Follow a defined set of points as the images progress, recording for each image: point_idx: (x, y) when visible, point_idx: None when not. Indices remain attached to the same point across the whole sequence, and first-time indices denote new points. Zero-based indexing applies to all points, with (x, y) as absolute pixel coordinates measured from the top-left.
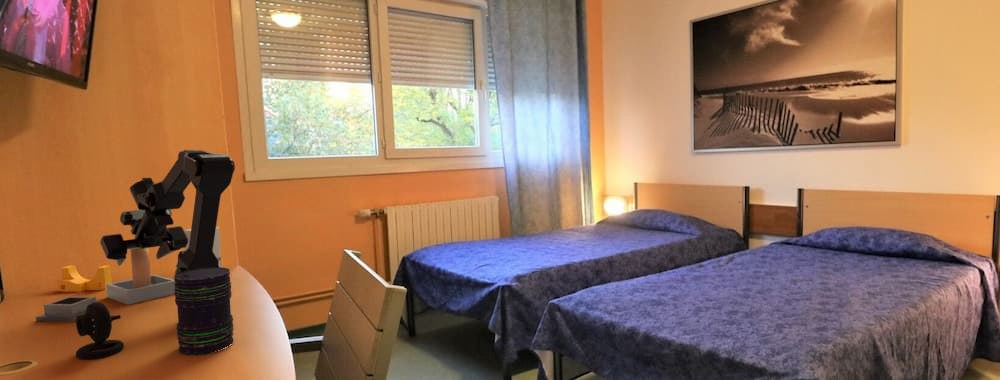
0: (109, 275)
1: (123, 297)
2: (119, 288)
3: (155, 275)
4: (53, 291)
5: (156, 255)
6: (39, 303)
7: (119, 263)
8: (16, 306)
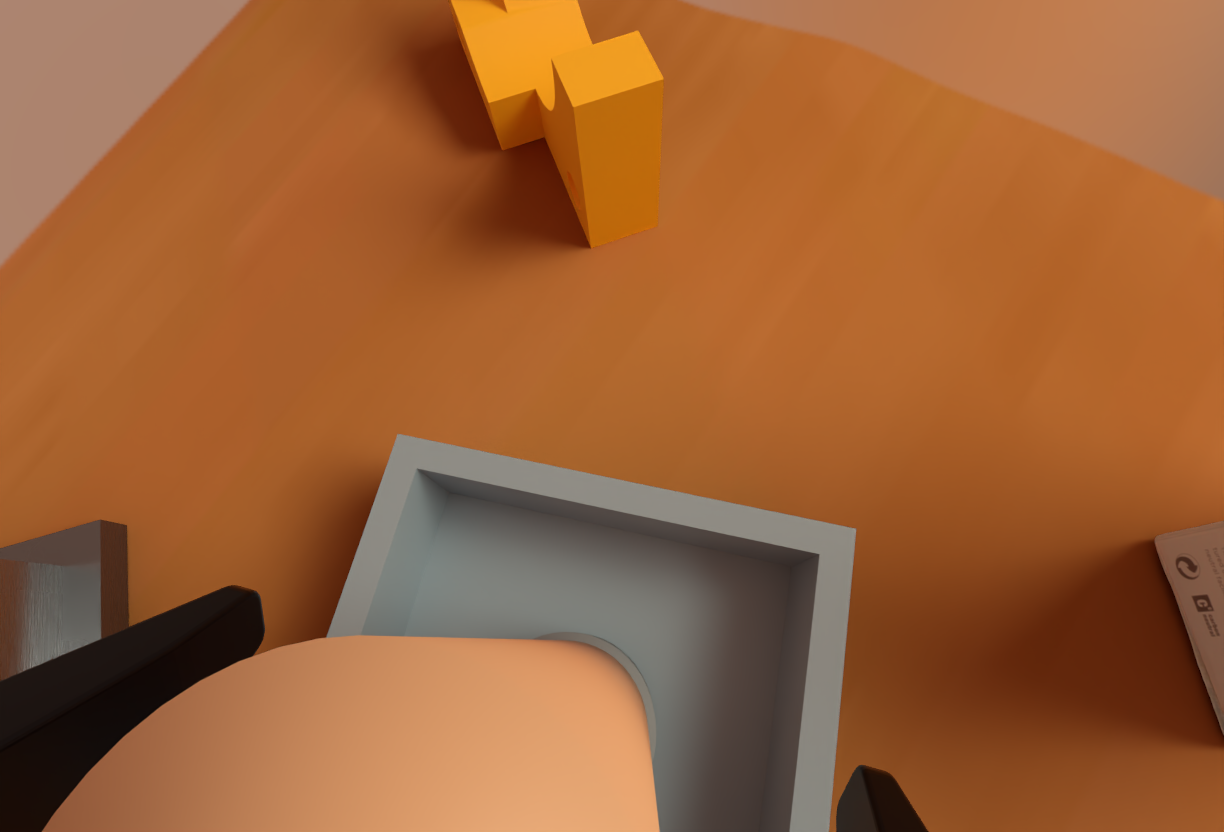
0: (637, 160)
1: None
2: None
3: (834, 560)
4: None
5: (864, 805)
6: (225, 193)
7: None
8: (153, 143)
